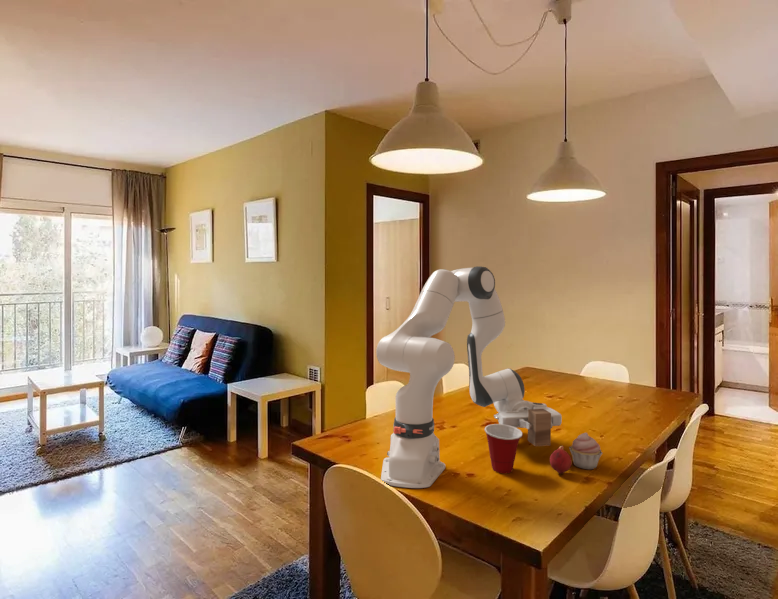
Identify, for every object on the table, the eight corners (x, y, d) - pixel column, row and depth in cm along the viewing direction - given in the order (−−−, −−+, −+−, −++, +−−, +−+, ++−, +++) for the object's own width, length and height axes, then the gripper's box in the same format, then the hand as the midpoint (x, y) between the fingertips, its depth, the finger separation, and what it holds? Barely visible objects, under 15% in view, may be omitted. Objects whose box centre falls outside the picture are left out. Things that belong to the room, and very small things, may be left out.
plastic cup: (505, 481, 129) (505, 438, 129) (476, 468, 138) (476, 428, 138) (530, 471, 136) (530, 430, 135) (500, 459, 145) (501, 421, 144)
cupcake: (608, 472, 135) (608, 438, 135) (575, 471, 135) (576, 438, 135) (594, 459, 145) (595, 427, 144) (564, 459, 145) (564, 427, 144)
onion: (563, 479, 130) (563, 451, 130) (545, 472, 135) (545, 445, 134) (575, 474, 134) (575, 447, 133) (557, 468, 138) (557, 441, 138)
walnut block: (550, 445, 143) (551, 413, 143) (535, 446, 143) (535, 413, 142) (542, 439, 148) (543, 408, 148) (527, 440, 148) (528, 409, 147)
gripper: (491, 405, 156) (509, 417, 143) (548, 403, 159) (570, 414, 146) (491, 424, 156) (508, 437, 143) (548, 421, 160) (570, 434, 146)
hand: (540, 426), depth 144 cm, fingers closed on walnut block, 5 cm apart
